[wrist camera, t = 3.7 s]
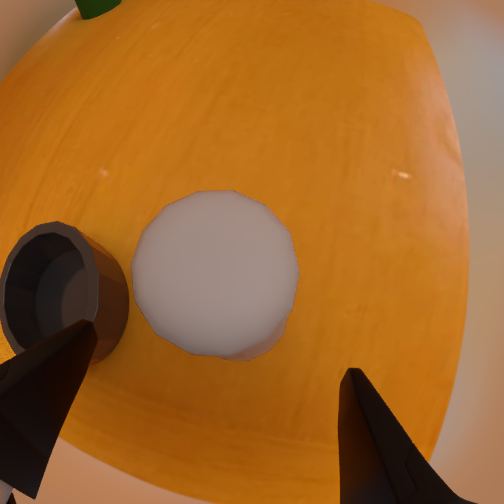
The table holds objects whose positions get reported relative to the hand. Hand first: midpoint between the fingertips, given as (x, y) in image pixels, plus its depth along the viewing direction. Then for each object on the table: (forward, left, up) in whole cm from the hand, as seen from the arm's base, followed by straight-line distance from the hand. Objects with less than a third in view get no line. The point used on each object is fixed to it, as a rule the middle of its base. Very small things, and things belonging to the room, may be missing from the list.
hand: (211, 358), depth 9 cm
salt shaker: (+2, -1, -10) cm, 10 cm away
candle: (+62, -1, -10) cm, 63 cm away
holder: (+8, +10, -9) cm, 16 cm away
